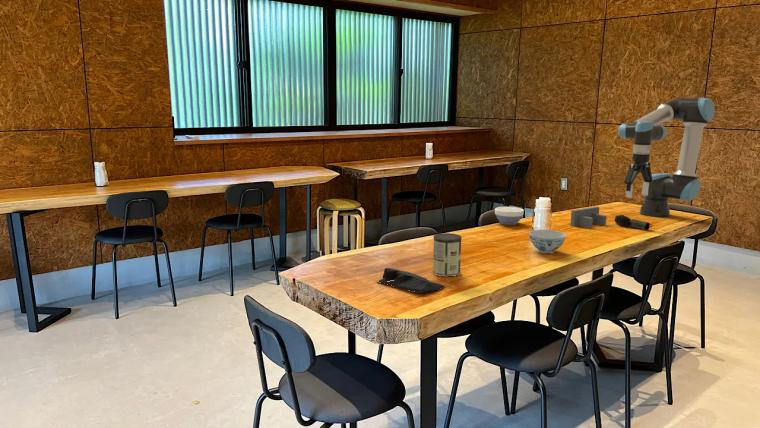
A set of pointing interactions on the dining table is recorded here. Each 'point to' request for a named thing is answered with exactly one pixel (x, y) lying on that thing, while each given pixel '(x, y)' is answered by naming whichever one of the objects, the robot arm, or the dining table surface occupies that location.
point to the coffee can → (447, 254)
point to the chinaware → (547, 240)
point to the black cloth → (408, 281)
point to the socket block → (587, 217)
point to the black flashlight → (631, 222)
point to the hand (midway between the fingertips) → (636, 196)
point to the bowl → (509, 215)
